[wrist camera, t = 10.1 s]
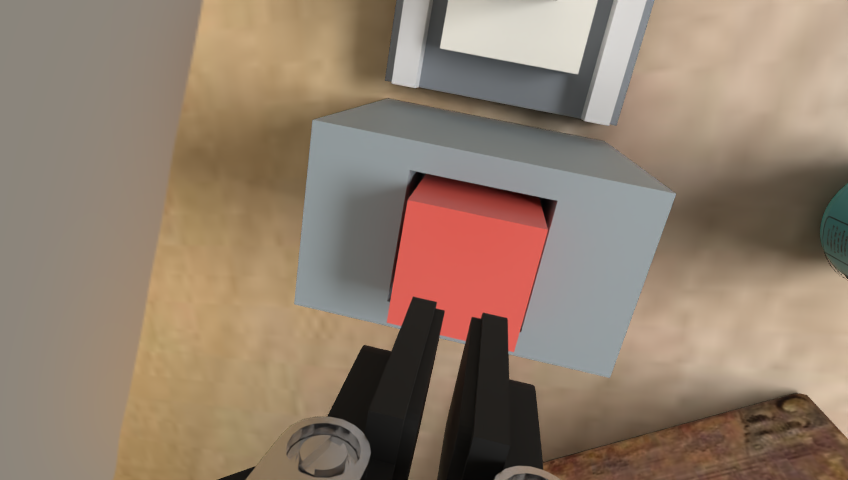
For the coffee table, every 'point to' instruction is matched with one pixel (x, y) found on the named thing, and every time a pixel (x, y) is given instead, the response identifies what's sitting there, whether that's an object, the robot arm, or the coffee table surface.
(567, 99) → the rail bed
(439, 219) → the button
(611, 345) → the button cabinet
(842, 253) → the beverage bottle
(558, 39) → the carriage
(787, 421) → the book
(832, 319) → the coffee table surface
